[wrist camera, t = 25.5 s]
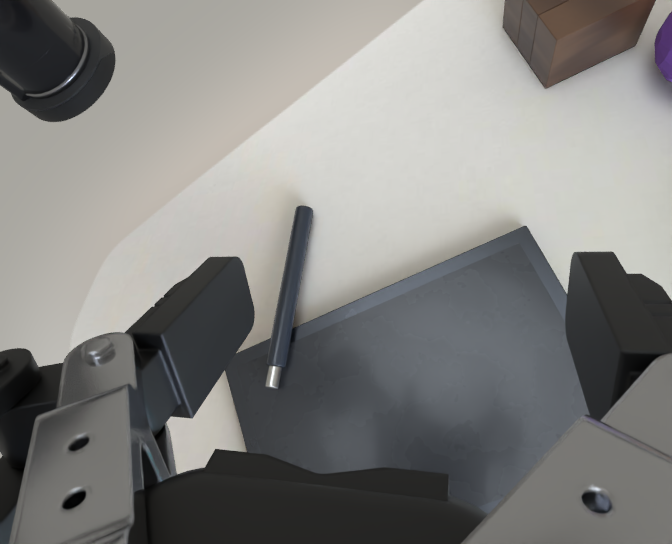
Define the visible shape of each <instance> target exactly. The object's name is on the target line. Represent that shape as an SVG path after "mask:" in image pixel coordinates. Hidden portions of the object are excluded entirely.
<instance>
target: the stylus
mask: <svg viewBox="0 0 672 544" xmlns="http://www.w3.org/2000/svg"><path fill="white" fill-rule="evenodd" d="M312 216H313V210H312V208H310V207H308V206H298V207H296V211H295V216H294V221H293V226H292V231H291V236H290V242H289V247H288V252H287V257H286V262H285V267H284V273H283V278H282V283H281V288H280V293H279V299H278V304H277V309H276V314H275V319H274V324H273V330H272V335H271V340H270V345H269V350H268V355H267V361H266V365H267V366H269V369H268V374H267V380H266V385H265V387H267V388H272V389H278V386H279V380H280V375H281V369H282V368H285V367H286V362H287V356H288V350H289V345H290V339H291V334H292V328H293V322H294V317H295V311H296V306H297V300H298V294H299V289H300V283H301V278H302V272H303V266H304V261H305V255H306V250H307V244H308V238H309V233H310V227H311V222H312Z"/></svg>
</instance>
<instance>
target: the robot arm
mask: <svg viewBox="0 0 672 544" xmlns="http://www.w3.org/2000/svg"><path fill="white" fill-rule="evenodd" d="M89 55H90V41H89V38H88V36H87V34H86V33H85V32H84V31H83V30H82V29H81V28H80V27H79V26H78V25H76V24H75V23H74V22H73V21H72V20H71V19H70V18H69V17H68V16H67V15H66V14H65V13H64V12H63V11H62V10H61V9H60V8H59V7H58V6H57V5H56V4H55V3H54V2H53V1H52V0H0V85H1V86H2V87H3V88H5V89H6V90H8V91H9V92H10V93H12V94H13V95H15V96H16V97H17V98H19V99H20V100H22V101H26V100H27V99H30V98H33V99H45V98H49V97H52V96H55V95H57V94H59V93H61V92H62V91H64V90H65V89H67V88H68V87H69V86H70V85H71V84H72V83H73V82H74V81H75V80H76V79H77V78H78V77H79V75H80V74H81V73H82V71H83V70H84V68H85V66H86V64H87V61H88V58H89ZM154 305H155V306H154V307H151V308H150V309H149V310H148V311H147V312H146V313H145V314H144V315H143V316H142V317H141V318H140V319H139V320H138V321H137V322H135V323H134V324H133V325H132V326H131V327H130V328H129V329H128V330H127V331H126V332H125V333H121V332H115V333H108V334H103V335H100V336H97V337H94V338H92V339H89V340H87V341H85V342H83V343H82V344H80V345H78V346H77V347H76V348H74V349H73V350H72V351H71V352H70V353H69V354H68V355H67V356H66V358H65V359H64V362H63V363H59V364H54V365H48V366H42V367H38V365H37V363H36V362H35V360H34V358H33V356H32V354H31V352H30V351H29V350H27V349H21V348H17V349H10V350H5V351H2V352H0V452H1V454H2V455H3V456H2V458H0V544H672V301H671V299H670V298H669V296H668V295H667V293H666V292H665V291H664V289H663V288H662V286H660V285H659V284H657V283H655V282H654V281H652V280H650V279H649V278H647V277H646V276H644V275H642V274H626V272H625V270H624V269H623V267H622V265H621V264H620V262H619V260H618V259H617V257H616V255H615V254H614V252H574V253H573V256H572V259H571V266H570V276H569V285H568V294H567V304H566V314H565V328H566V337H567V341H568V345H569V348H570V351H571V355H572V358H573V361H574V364H575V368H576V371H577V374H578V378H579V381H580V384H581V388H582V391H583V394H584V398H585V401H586V404H587V407H588V411H589V414H590V415H583V416H581V417H580V418H579V419H577V420H576V421H575V422H574V423H573V424H572V426H571V427H570V428H569V429H568V430H567V431H566V432H565V433H564V434H563V435H562V436H561V437H560V438H559V439H558V440H557V442H556V443H555V444H554V445H553V446H552V447H551V448H550V449H549V450H548V451H547V452H546V453H545V454H544V455H543V456H542V458H541V459H540V460H539V461H538V462H537V463H536V464H535V465H534V466H533V467H532V468H531V469H530V470H529V471H528V473H527V474H526V475H525V476H524V477H523V478H522V479H521V480H520V481H519V482H518V483H517V484H516V485H515V486H514V487H513V489H512V490H511V491H510V492H509V493H508V494H507V495H506V496H505V497H504V498H503V499H502V500H501V501H500V502H499V503H498V505H497V506H496V507H495V508H494V509H493V510H492V511H491V512H490V513H489V514H488V513H486V512H484V511H483V510H481V509H480V508H478V507H476V506H474V505H472V504H470V503H468V502H466V501H464V500H462V499H459V498H457V497H454V496H451V495H449V474H446V473H436V472H427V471H417V470H408V469H398V468H389V467H382V468H373V469H364V470H355V471H346V472H337V473H328V474H319V473H315V472H312V471H309V470H307V469H304V468H301V467H299V466H296V465H293V464H291V463H288V462H285V461H283V460H280V459H277V458H275V457H272V456H270V455H267V454H257V453H248V452H238V451H229V450H219V449H215V451H214V453H213V454H212V456H211V458H210V460H209V461H208V463H207V465H206V467H205V468H199V469H195V470H190V471H186V472H183V473H180V474H177V473H176V467H175V460H174V454H173V448H172V441H171V435H170V431H169V428H168V426H167V423H166V422H167V421H168V419H169V418H170V416H173V417H184V418H193V417H194V415H195V414H196V412H197V411H198V409H199V408H200V406H201V405H202V403H203V402H204V400H205V399H206V397H207V396H208V394H209V393H210V391H211V390H212V388H213V387H214V385H215V384H216V382H217V381H218V379H219V378H220V376H221V375H222V373H223V372H224V370H225V369H226V367H227V366H228V364H229V363H230V361H231V360H232V358H233V357H234V355H235V354H236V352H237V351H238V349H239V348H240V346H241V345H242V343H243V342H244V340H245V339H246V337H247V336H248V334H249V333H250V331H251V329H252V327H253V323H254V315H255V314H254V306H253V302H252V298H251V294H250V290H249V286H248V282H247V278H246V274H245V269H244V266H243V263H242V261H241V259H240V258H238V257H210V258H208V259H207V260H206V261H205V262H204V263H203V264H202V265H201V266H200V267H199V268H198V269H197V270H196V271H194V272H193V273H192V274H191V275H190V276H189V277H188V278H186V279H184V280H182V281H181V282H179V283H177V284H175V285H174V286H173V287H172V288H171V289H170V290H169V291H168V292H167V293H166V294H165V295H164V298H161V299H160V300H159V301H158V302H156V303H155V304H154Z"/></svg>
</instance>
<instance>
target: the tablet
mask: <svg viewBox="0 0 672 544" xmlns="http://www.w3.org/2000/svg"><path fill="white" fill-rule="evenodd" d="M566 304H567V294H566V292H565V290H564V289H563V287H562V285H561V284H560V282H559V280H558V278H557V277H556V275H555V273H554V272H553V270H552V268H551V267H550V265H549V263H548V261H547V260H546V258H545V256H544V255H543V253H542V251H541V250H540V248H539V246H538V245H537V243H536V241H535V239H534V238H533V236H532V234H531V233H530V231H529V229H528V228H527V226H523V227H521V228H519V229H516V230H514V231H512V232H510V233H507V234H505V235H503V236H501V237H498V238H496V239H494V240H492V241H489V242H487V243H485V244H482V245H480V246H478V247H476V248H473V249H471V250H469V251H467V252H464V253H462V254H460V255H458V256H455V257H453V258H451V259H449V260H446V261H444V262H442V263H440V264H437V265H435V266H433V267H431V268H428V269H426V270H424V271H422V272H419V273H417V274H415V275H412V276H410V277H408V278H406V279H403V280H401V281H399V282H397V283H394V284H392V285H390V286H388V287H385V288H383V289H381V290H379V291H376V292H374V293H372V294H370V295H367V296H365V297H363V298H361V299H358V300H356V301H354V302H352V303H349V304H347V305H345V306H342V307H340V308H338V309H336V310H333V311H331V312H329V313H327V314H324V315H322V316H320V317H318V318H315V319H313V320H311V321H309V322H306V323H304V324H302V325H300V326H297V327H295V328H293V329H292V334H291V339H290V345H289V350H288V356H287V362H286V367H285V368H282V369H281V375H280V380H279V386H278V389H272V388H267V387H265V385H266V380H267V374H268V369H269V366H267V365H266V361H267V355H268V350H269V345H270V340H271V338H270V339H268V340H266V341H263V342H261V343H259V344H257V345H254V346H252V347H250V348H248V349H245V350H243V351H241V352H239V353H236V354H235V355H234V357H233V358H232V360H231V361H230V363H229V364H228V366H227V367H226V369H225V371H226V375H227V379H228V382H229V386H230V390H231V393H232V397H233V401H234V404H235V408H236V412H237V415H238V419H239V423H240V426H241V430H242V434H243V437H244V441H245V445H246V448H247V452H248V453H257V454H267V455H270V456H272V457H275V458H277V459H280V460H283V461H285V462H288V463H291V464H293V465H296V466H299V467H301V468H304V469H307V470H309V471H312V472H315V473H319V474H328V473H337V472H346V471H355V470H364V469H373V468H382V467H389V468H398V469H408V470H417V471H427V472H436V473H446V474H449V495H451V496H454V497H457V498H459V499H462V500H464V501H466V502H468V503H470V504H472V505H474V506H476V507H478V508H480V509H481V510H483V511H484V512H486V513H488V514H489V513H490V512H491V511H492V510H493V509H494V508H495V507H496V506H497V505H498V503H499V502H500V501H501V500H502V499H503V498H504V497H505V496H506V495H507V494H508V493H509V492H510V491H511V490H512V489H513V487H514V486H515V485H516V484H517V483H518V482H519V481H520V480H521V479H522V478H523V477H524V476H525V475H526V474H527V473H528V471H529V470H530V469H531V468H532V467H533V466H534V465H535V464H536V463H537V462H538V461H539V460H540V459H541V458H542V456H543V455H544V454H545V453H546V452H547V451H548V450H549V449H550V448H551V447H552V446H553V445H554V444H555V443H556V442H557V440H558V439H559V438H560V437H561V436H562V435H563V434H564V433H565V432H566V431H567V430H568V429H569V428H570V427H571V426H572V424H573V423H574V422H575V421H576V420H577V419H579V418H580V417H581V416H583V415H590V414H589V411H588V407H587V404H586V401H585V398H584V394H583V391H582V388H581V384H580V381H579V378H578V374H577V371H576V368H575V364H574V361H573V358H572V355H571V351H570V348H569V345H568V341H567V337H566V328H565V314H566Z"/></svg>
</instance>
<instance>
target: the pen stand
mask: <svg viewBox="0 0 672 544" xmlns="http://www.w3.org/2000/svg"><path fill="white" fill-rule="evenodd" d="M655 1H656V0H505V6H504V17H503V28H504V29H505V31H506V32H507V33H508V35H509V36H510V38H511V39H512V41H513V42H514V44H515V45H516V46H517V48H518V49H519V51H520V52H521V54H522V55H523V57H524V58H525V60H526V61H527V62H528V64H529V65H530V67H531V68H532V70H533V71H534V72H535V74H536V75H537V77H538V78H539V80H540V81H541V83H542V84H543V85H544V87H545V88H548V87H550V86H552V85H554V84H556V83H558V82H560V81H562V80H565V79H567V78H569V77H571V76H573V75H575V74H577V73H579V72H581V71H583V70H585V69H588V68H590V67H592V66H594V65H596V64H598V63H600V62H602V61H604V60H606V59H608V58H611V57H613V56H615V55H617V54H619V53H621V52H623V51H625V50H627V49H629V48H631V47H634V46H635V45H636V44H637V41H638V39H639V37H640V35H641V32H642V30H643V28H644V26H645V24H646V21H647V19H648V17H649V15H650V12H651V10H652V8H653V6H654V3H655Z"/></svg>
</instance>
